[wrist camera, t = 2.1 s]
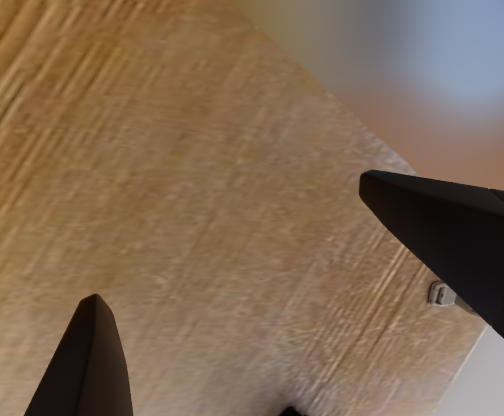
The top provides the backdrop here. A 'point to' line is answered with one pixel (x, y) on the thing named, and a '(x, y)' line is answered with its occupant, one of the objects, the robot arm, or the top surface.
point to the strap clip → (447, 297)
